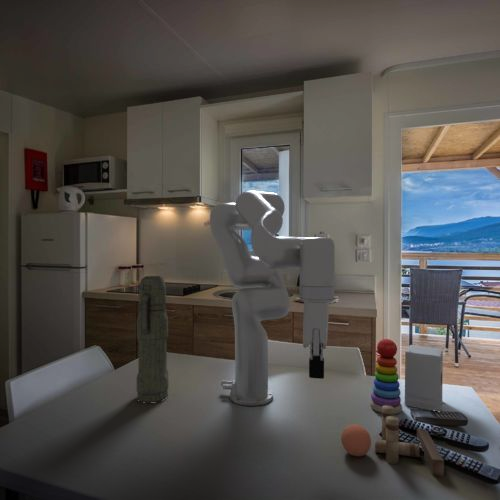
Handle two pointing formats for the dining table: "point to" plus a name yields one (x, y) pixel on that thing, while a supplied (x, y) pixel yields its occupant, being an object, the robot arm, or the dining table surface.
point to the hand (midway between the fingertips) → (316, 376)
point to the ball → (356, 440)
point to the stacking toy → (386, 378)
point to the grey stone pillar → (152, 340)
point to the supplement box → (423, 377)
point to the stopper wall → (431, 453)
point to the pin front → (404, 448)
